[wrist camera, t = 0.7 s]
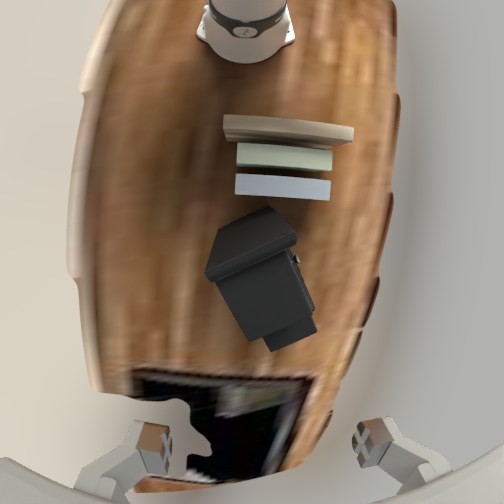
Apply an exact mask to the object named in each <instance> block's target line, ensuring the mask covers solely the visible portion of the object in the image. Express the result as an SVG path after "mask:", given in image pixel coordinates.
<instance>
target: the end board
mask: <svg viewBox="0 0 504 504" xmlns="http://www.w3.org/2000/svg"><path fill="white" fill-rule="evenodd" d="M223 131H224V133H225V136H226V139H227V141H228V142H251V143H267V144H280V145H291V146H301V147H311V148H319V149H327V148H331V147H334V146H338V145H341V144H345V143H349V142H352V141H353V138H354V128H352V127H346V126H341V125H335V124H328V123H321V122H314V121H306V120H298V119H288V118H278V117H266V116H250V115H226V114H224V119H223Z"/></svg>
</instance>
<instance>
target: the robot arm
mask: <svg viewBox="0 0 504 504" xmlns="http://www.w3.org/2000/svg"><path fill="white" fill-rule="evenodd" d="M206 1H207V2H208V5H205V6H204V12H205V13H204V15H203V18H202V20H201V23H200V25H199V27H198V30H197V36H198V37H199V38H200V39H202V40H203V41H205V42H207V43H208V44H209V45H210V46H211V47H212V49H213V50H214V51H215V52H216V53H217V54H218V55H219V56H221V57H223V58H224V59H227V60H229V61H232V62H237V63H255V62H259V61H262V60H265V59H267V58H269V57H271V56H272V55H273V54H275V53H276V52H277V51H278V49H279V48H281V47H282V46H284V45H287V44H289V43H291V42H293V41H294V38H295V35H294V31H293V27H292V23H291V19H290V15H289V11H288V8H287V0H206ZM203 28H204V29H203ZM288 32H289V33H288ZM357 429H358V431H356V432H355V433H354V435H353V437H352V447H353V450H354V452H356V453H357V454H359V455H358V457H357V459H358V462H359V464H360V467H361V468H366V467H371V466H375V465H378V466H379V467H380V468H381V469H383V470H384V471H385V472H387V473H388V474H389V475H391V476H392V477H393V478H395V479H396V480H398V481H399V482H400V483H402V484H403V486H402V487H401V488H400V489H399V491H398V492H397V495H396V496H393V497H390V498H387V499H384V500H380V501H377V502H374V503H370V504H504V444H500V445H498V446H497V447H495V448H494V449H492V450H490V451H489V452H487V453H486V454H484V455H482V456H481V457H479V458H477V459H475V460H474V461H472V462H470V463H468V464H466V465H465V466H463V467H461V468H459V469H457V470H455V471H453V470H452V468H451V467H450V465H449V464H448V462H447V461H446V459H445V458H444V456H443V455H442V454H439V453H437V452H435V451H433V450H431V449H429V448H426V447H425V446H423V445H421V444H418V443H416V442H414V441H412V440H410V439H408V438H404V437H403V436H402V434H401V432H400V431H399V429H398V427H397V426H396V424H395V422H394V421H393V419H392V418H391V417H390V416H387V417H382V418H376V419H372V420H367V421H361V422H359V423H358V425H357ZM169 432H170V429H169V426H166V425H160V424H154V423H149V422H143V421H138V420H134V421H133V422H132V424H131V427H130V429H129V431H128V434H127V437H126V439H125V442H124V445H123V446H118V447H117V448H115V449H113V450H112V451H110V452H109V453H107V454H106V455H104V456H102V457H100V458H99V459H97V460H95V461H94V462H92V463H90V464H89V465H87V466H85V467H84V468H82V470H81V472H80V474H79V476H78V479H77V481H76V483H75V485H74V488H73V489H72V488H69V487H67V486H64V485H62V484H60V483H57V482H55V481H53V480H51V479H49V478H46V477H44V476H42V475H40V474H38V473H36V472H34V471H32V470H30V469H28V468H27V467H25V466H23V465H21V464H19V463H18V462H16V461H14V460H12V459H10V458H7V457H5V458H0V504H130V503H129V501H128V500H127V498H126V497H125V495H124V494H125V493H126V492H127V491H128V490H130V489H131V488H132V487H133V486H134V485H135V484H136V483H138V482H139V481H140V480H141V479H142V478H143V477H144V476H145V475H147V474H148V473H155V474H162V475H167V473H168V467H169V461H168V458H169V457H170V456H171V453H172V439H171V437H170V436H169ZM147 472H148V473H147Z"/></svg>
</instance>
